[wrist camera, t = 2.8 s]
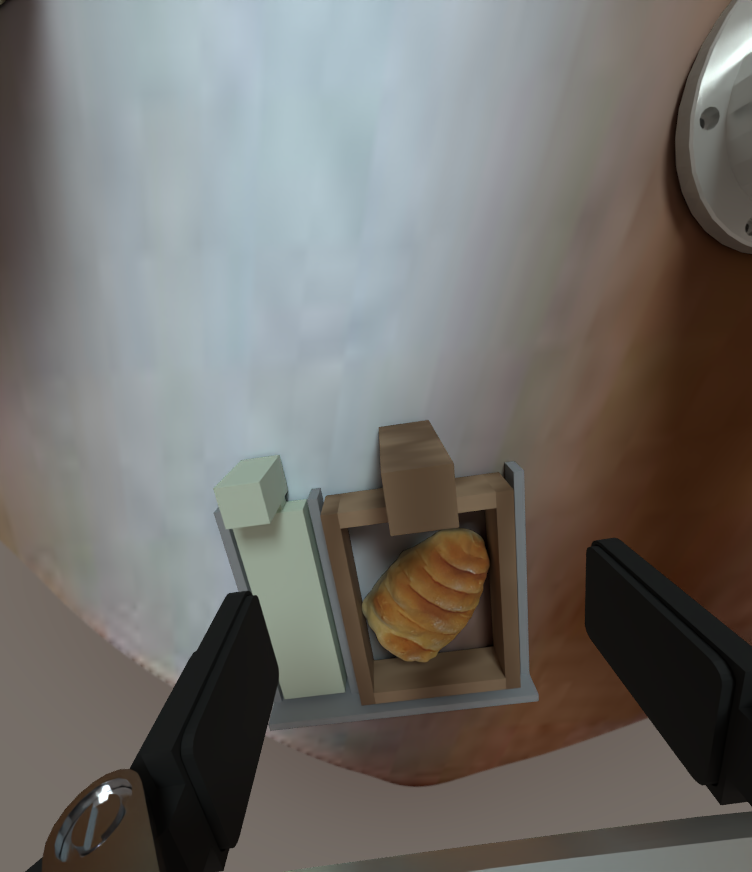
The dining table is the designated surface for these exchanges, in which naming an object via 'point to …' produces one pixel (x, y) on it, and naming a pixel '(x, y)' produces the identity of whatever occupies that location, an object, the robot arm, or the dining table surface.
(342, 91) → the dining table surface
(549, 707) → the dining table surface
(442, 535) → the pastry
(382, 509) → the frame
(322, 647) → the sage strip
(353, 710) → the lane guide
